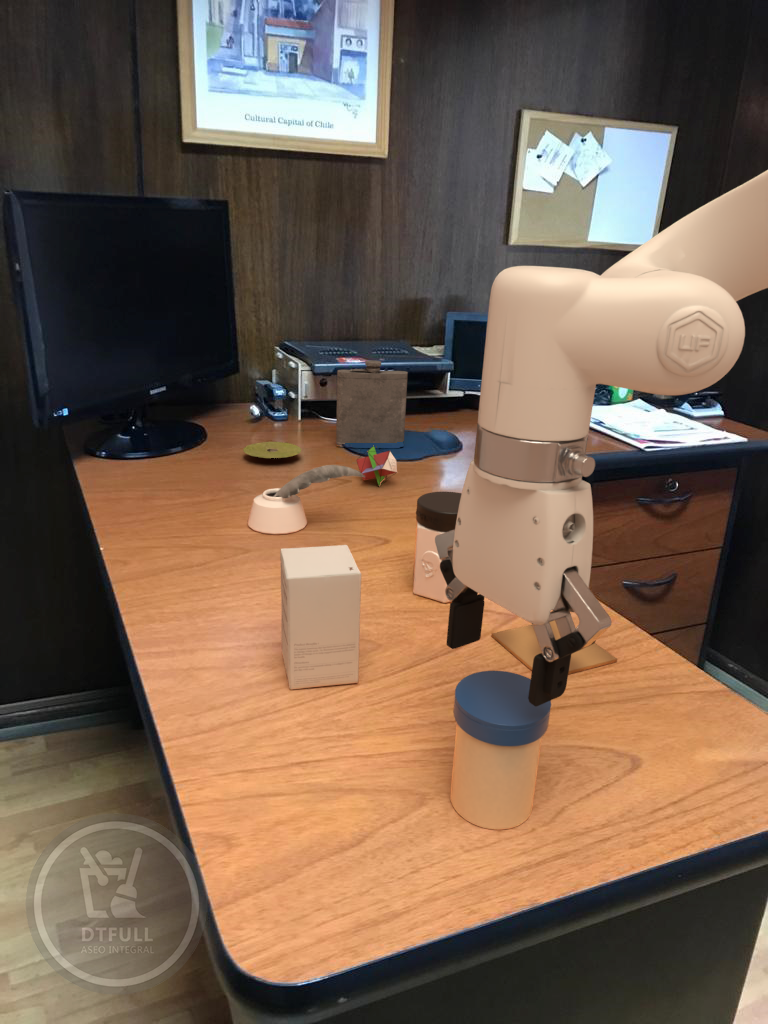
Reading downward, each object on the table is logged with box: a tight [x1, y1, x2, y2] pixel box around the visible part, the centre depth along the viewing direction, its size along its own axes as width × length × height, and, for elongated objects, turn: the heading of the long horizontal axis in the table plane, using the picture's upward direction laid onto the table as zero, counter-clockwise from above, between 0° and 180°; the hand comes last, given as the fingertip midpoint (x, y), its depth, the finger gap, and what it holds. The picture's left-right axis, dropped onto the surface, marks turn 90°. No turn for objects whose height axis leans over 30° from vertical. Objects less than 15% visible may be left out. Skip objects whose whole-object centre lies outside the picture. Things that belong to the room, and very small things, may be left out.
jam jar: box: [449, 723, 543, 831], centre depth 62 cm, size 7×7×10 cm
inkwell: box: [247, 464, 365, 536], centre depth 118 cm, size 9×18×10 cm, turn 92°
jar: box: [412, 491, 462, 604], centre depth 99 cm, size 9×8×12 cm
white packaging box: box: [279, 544, 362, 691], centre depth 79 cm, size 7×7×13 cm
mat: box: [242, 441, 302, 459], centre depth 151 cm, size 11×11×2 cm
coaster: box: [490, 620, 618, 675], centre depth 87 cm, size 10×10×1 cm
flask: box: [335, 359, 409, 445], centre depth 159 cm, size 4×14×18 cm, turn 96°
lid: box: [452, 670, 552, 746], centre depth 61 cm, size 8×8×2 cm
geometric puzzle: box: [355, 445, 398, 486], centre depth 139 cm, size 7×7×8 cm
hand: (502, 669), depth 60 cm, fingers open, 8 cm apart
